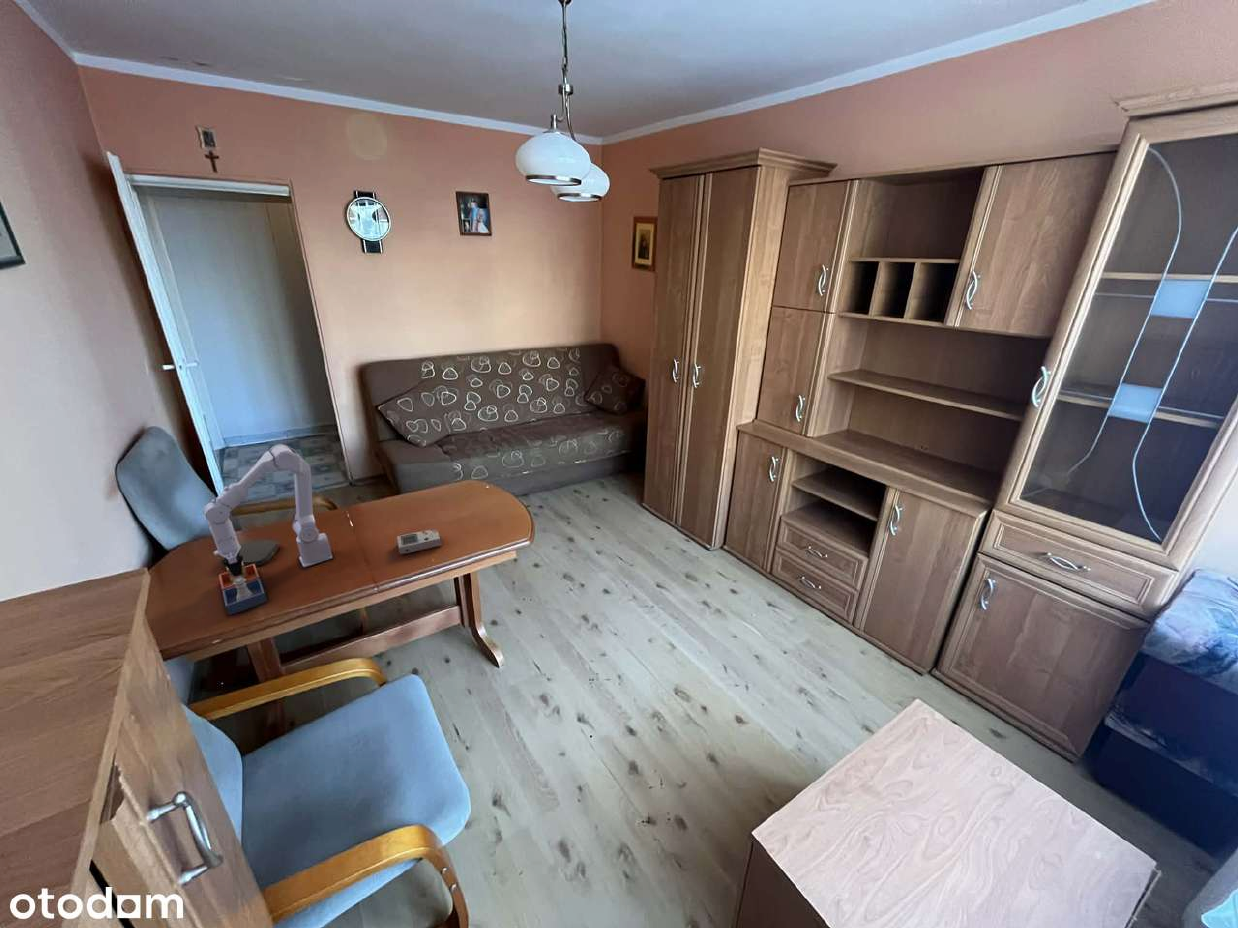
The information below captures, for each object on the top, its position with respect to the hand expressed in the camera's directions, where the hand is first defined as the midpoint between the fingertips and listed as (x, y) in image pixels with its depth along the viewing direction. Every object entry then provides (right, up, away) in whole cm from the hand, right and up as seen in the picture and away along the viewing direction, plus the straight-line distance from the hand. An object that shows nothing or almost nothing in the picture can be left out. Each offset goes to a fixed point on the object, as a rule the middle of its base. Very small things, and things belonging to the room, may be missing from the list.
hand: (237, 571), depth 168 cm
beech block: (0, -1, +1) cm, 2 cm away
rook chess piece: (+7, -8, -6) cm, 12 cm away
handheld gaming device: (+51, +5, +25) cm, 57 cm away
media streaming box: (-7, +2, +17) cm, 19 cm away
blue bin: (+7, -8, -6) cm, 12 cm away
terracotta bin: (0, -5, +2) cm, 5 cm away
